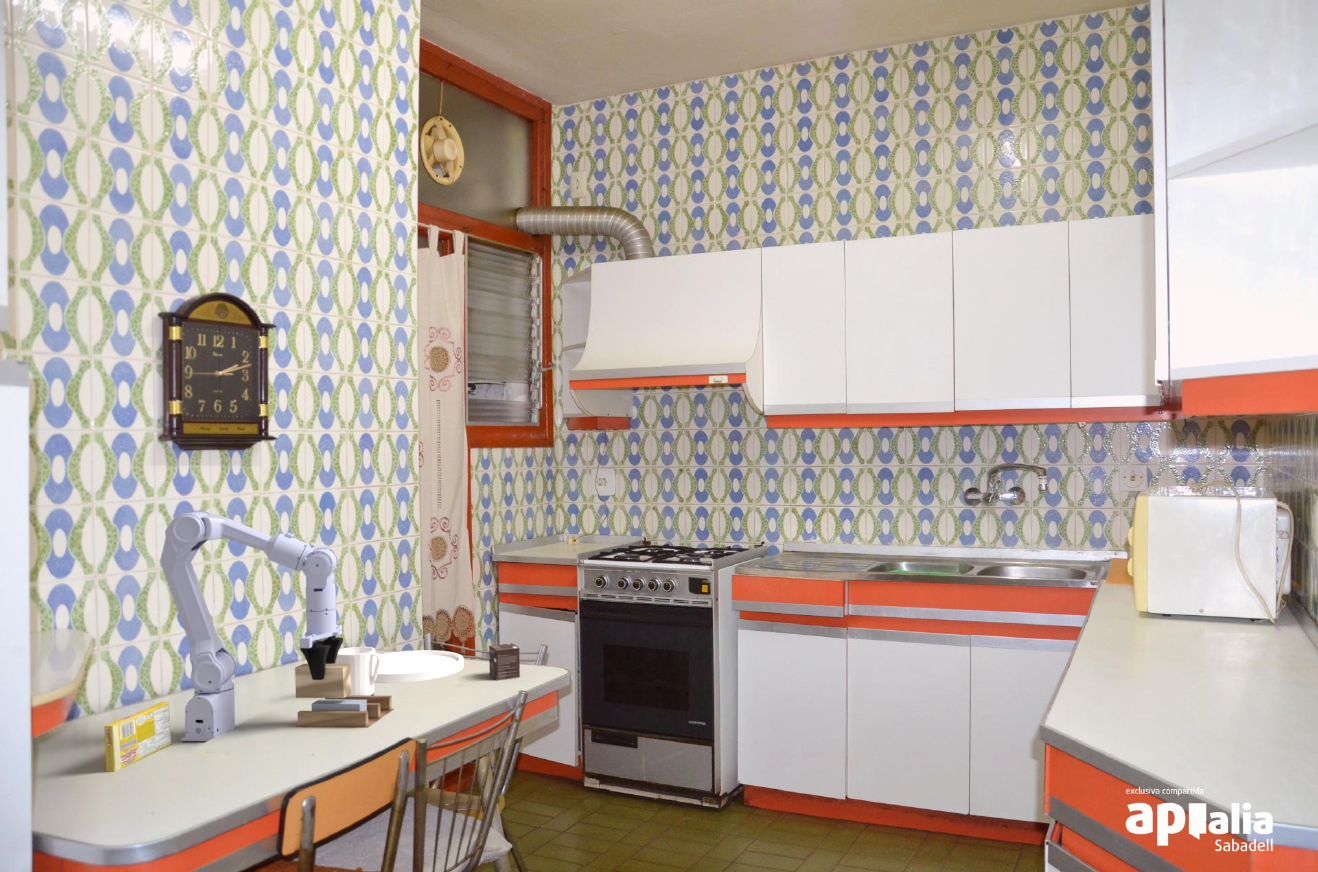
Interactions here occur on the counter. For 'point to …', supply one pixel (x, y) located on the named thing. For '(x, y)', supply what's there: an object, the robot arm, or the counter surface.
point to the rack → (348, 714)
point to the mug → (360, 668)
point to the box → (504, 661)
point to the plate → (417, 665)
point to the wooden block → (323, 682)
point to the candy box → (137, 736)
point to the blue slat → (339, 705)
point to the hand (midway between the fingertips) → (322, 677)
